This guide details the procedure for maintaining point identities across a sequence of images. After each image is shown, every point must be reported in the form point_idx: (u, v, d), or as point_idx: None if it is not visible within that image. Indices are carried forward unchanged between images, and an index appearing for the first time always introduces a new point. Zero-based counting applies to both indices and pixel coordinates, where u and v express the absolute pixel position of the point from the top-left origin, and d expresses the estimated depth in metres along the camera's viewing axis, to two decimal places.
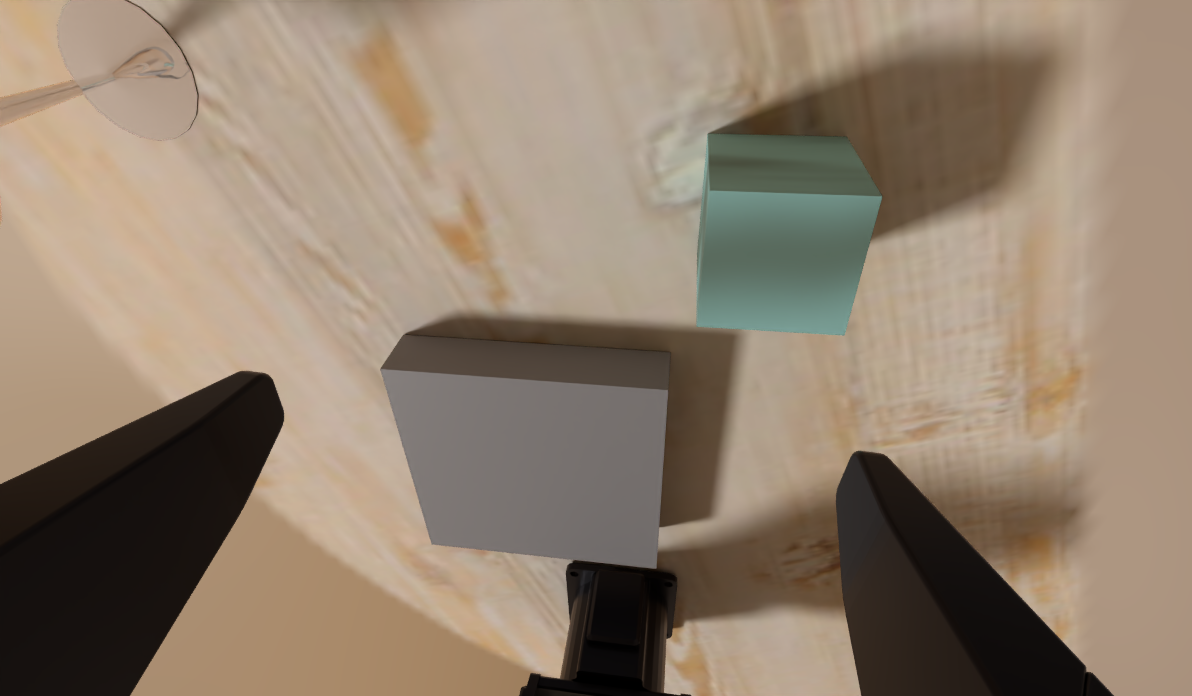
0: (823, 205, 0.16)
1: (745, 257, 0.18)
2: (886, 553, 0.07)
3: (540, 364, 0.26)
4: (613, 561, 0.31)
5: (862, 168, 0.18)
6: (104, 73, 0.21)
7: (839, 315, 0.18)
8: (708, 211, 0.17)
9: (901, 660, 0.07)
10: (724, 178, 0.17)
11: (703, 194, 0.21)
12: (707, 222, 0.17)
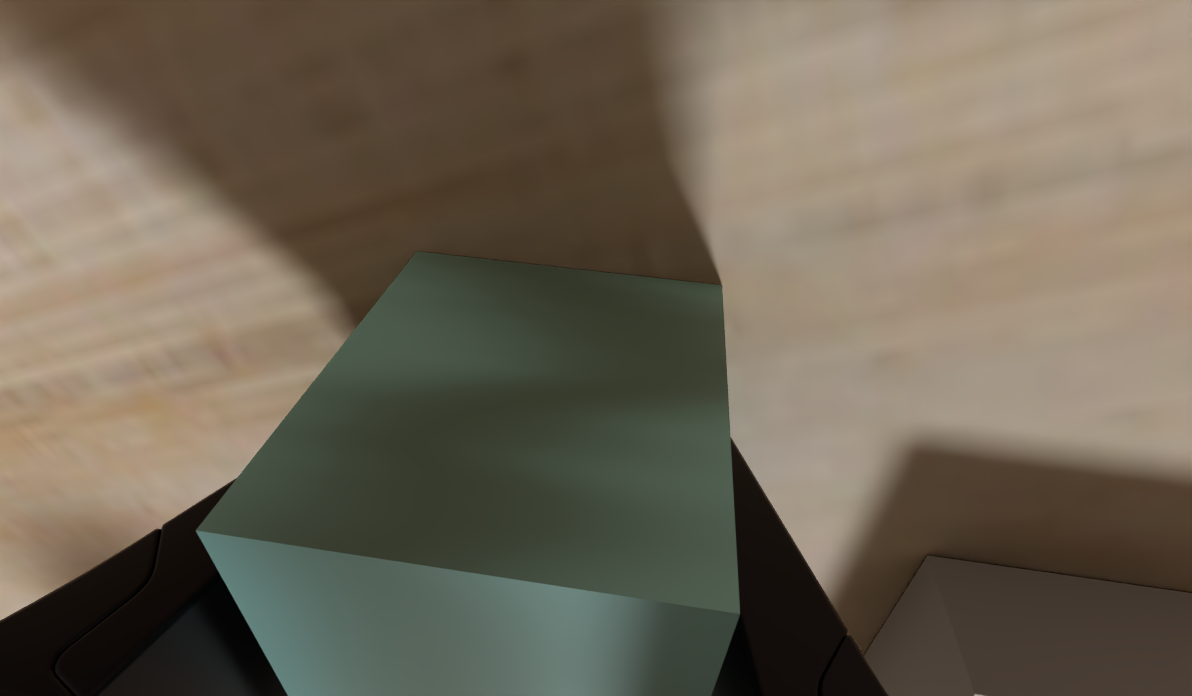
0: (277, 627, 0.06)
1: None
2: None
3: None
4: None
5: (320, 382, 0.07)
6: None
7: (643, 621, 0.05)
8: None
9: None
10: None
11: None
12: None
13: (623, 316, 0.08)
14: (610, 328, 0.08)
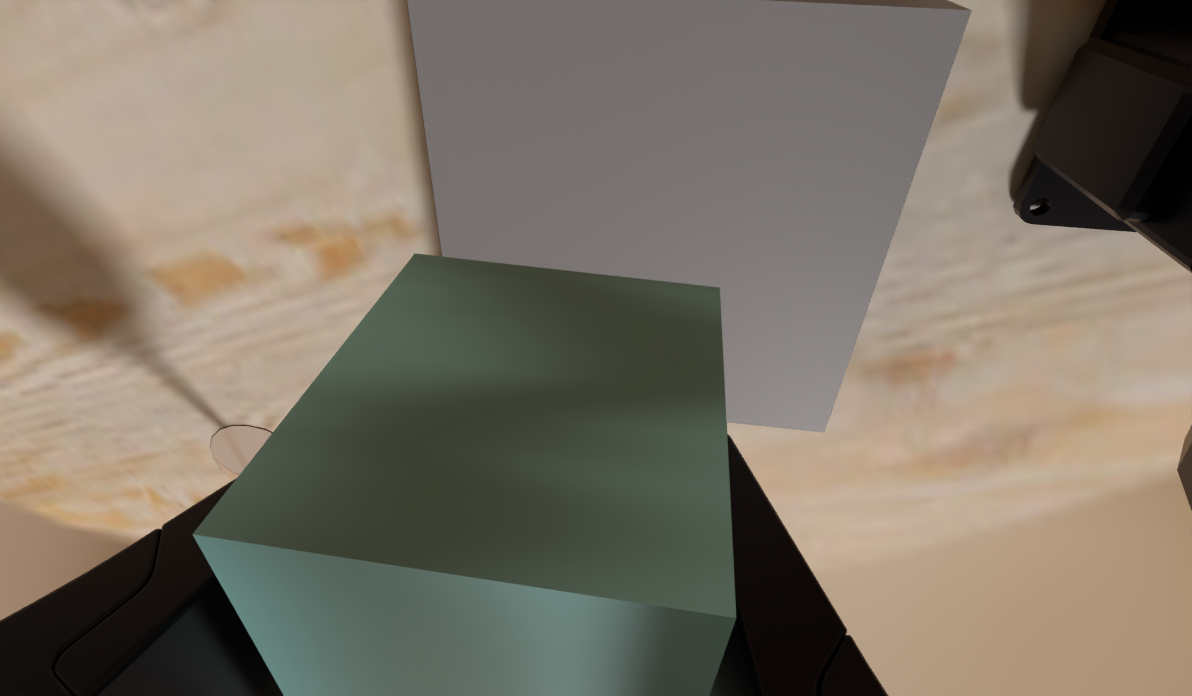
0: (274, 631, 0.06)
1: None
2: None
3: None
4: (922, 120, 0.14)
5: (317, 384, 0.07)
6: None
7: (639, 625, 0.05)
8: None
9: None
10: None
11: None
12: None
13: (621, 319, 0.08)
14: (608, 331, 0.08)
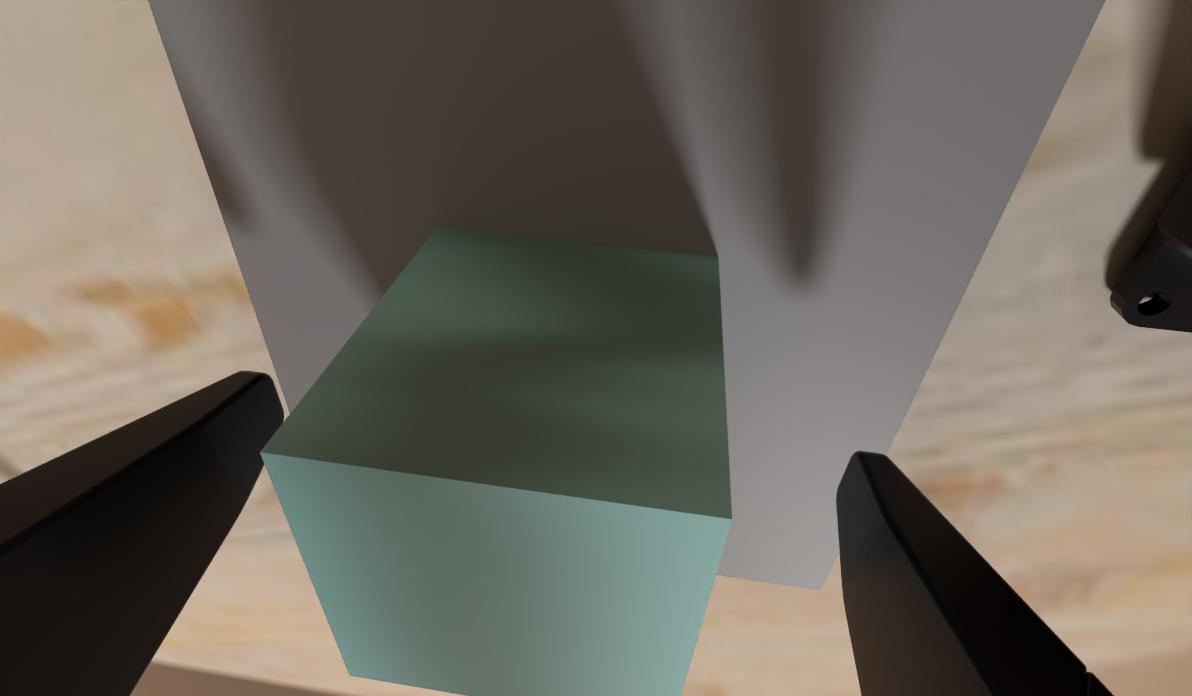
0: (325, 546, 0.07)
1: (483, 655, 0.08)
2: (886, 553, 0.07)
3: None
4: (999, 182, 0.08)
5: None
6: None
7: (648, 529, 0.06)
8: None
9: (901, 660, 0.07)
10: None
11: None
12: None
13: (628, 283, 0.09)
14: (617, 293, 0.09)
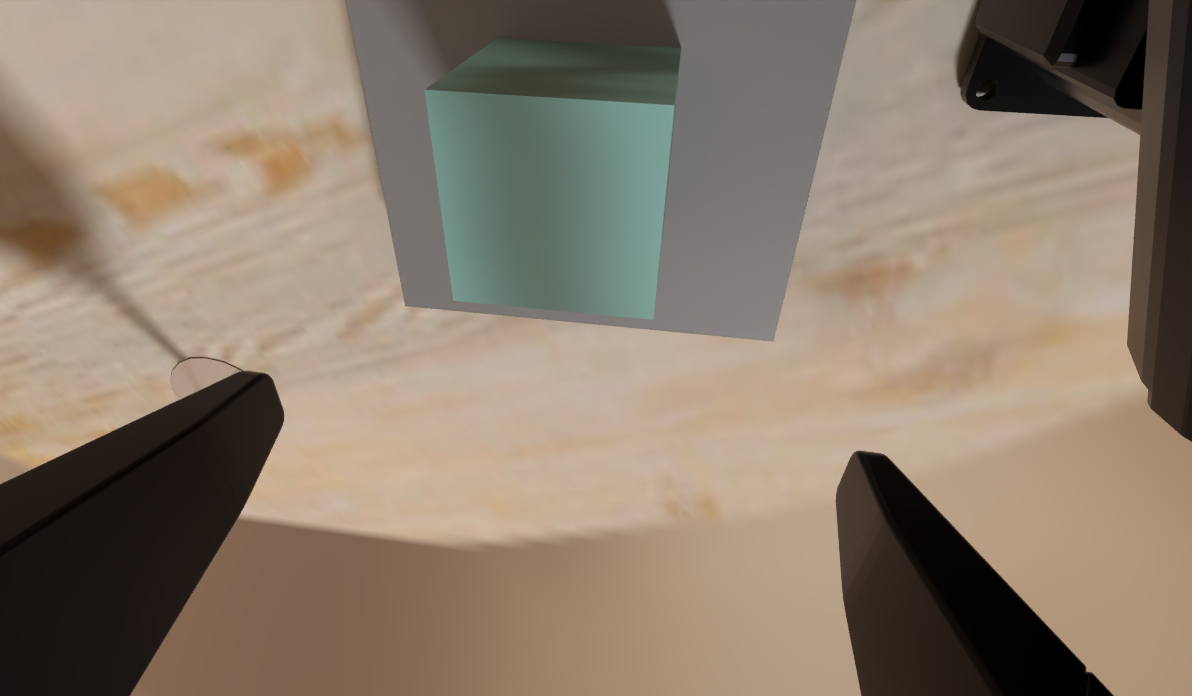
0: (451, 168, 0.12)
1: (538, 260, 0.13)
2: (886, 553, 0.07)
3: None
4: None
5: None
6: None
7: (631, 120, 0.11)
8: (479, 302, 0.14)
9: (901, 660, 0.07)
10: None
11: None
12: (493, 303, 0.14)
13: (622, 54, 0.14)
14: (615, 56, 0.14)
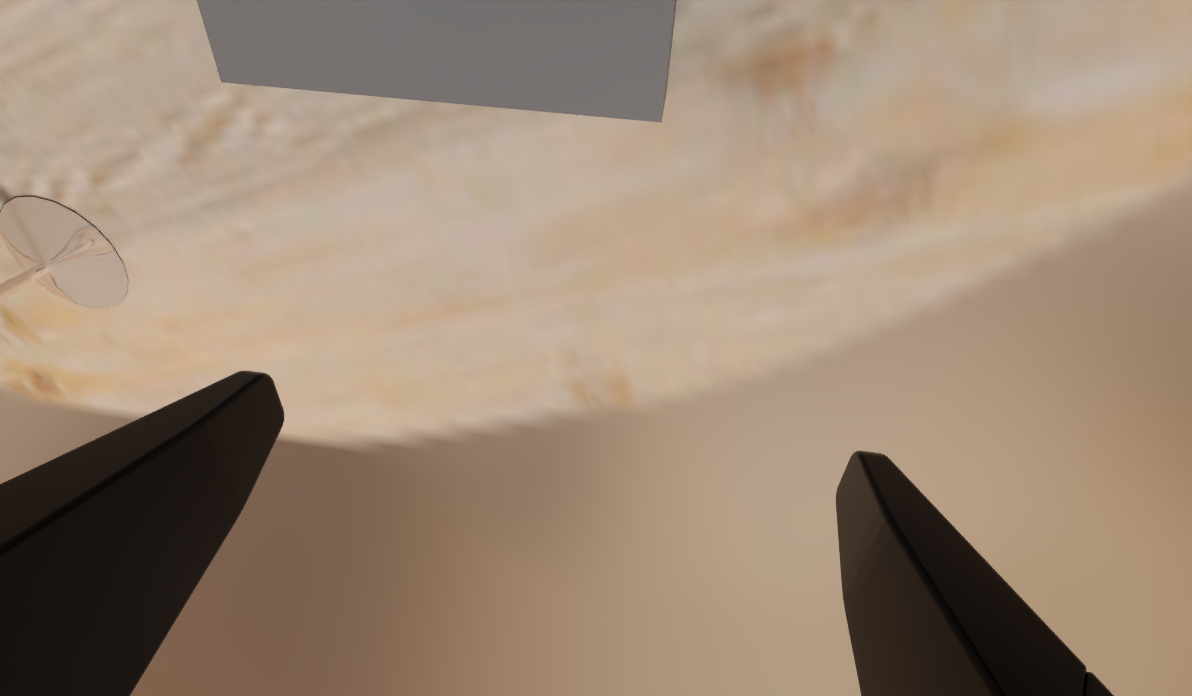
0: None
1: None
2: (886, 553, 0.07)
3: None
4: None
5: None
6: (35, 267, 0.23)
7: None
8: None
9: (901, 660, 0.07)
10: None
11: None
12: None
13: None
14: None
